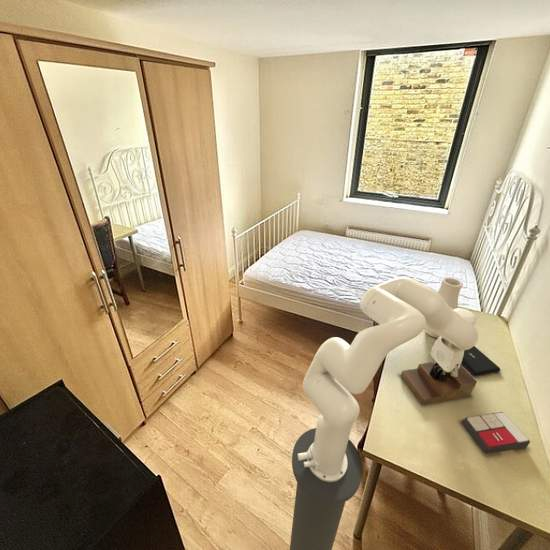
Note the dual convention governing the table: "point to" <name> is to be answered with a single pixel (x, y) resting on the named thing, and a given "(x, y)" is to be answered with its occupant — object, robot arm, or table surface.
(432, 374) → the clip
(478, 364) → the laptop
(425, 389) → the wooden stair steps
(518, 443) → the red grey flat block
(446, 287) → the vase
